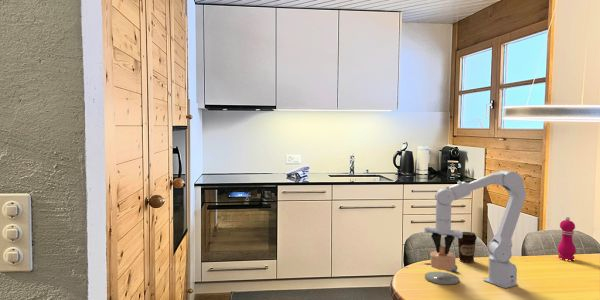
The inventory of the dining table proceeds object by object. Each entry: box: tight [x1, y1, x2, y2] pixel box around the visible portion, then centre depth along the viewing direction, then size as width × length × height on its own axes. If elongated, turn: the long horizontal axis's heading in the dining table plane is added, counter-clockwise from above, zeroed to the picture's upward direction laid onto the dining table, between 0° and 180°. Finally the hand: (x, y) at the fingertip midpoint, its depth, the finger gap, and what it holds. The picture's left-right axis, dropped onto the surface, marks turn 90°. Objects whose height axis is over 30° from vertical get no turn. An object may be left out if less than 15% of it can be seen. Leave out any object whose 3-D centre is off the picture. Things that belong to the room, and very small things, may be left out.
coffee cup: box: [457, 231, 478, 263], centre depth 183 cm, size 9×8×13 cm
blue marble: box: [451, 264, 458, 272], centre depth 169 cm, size 3×3×3 cm
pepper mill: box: [557, 216, 577, 260], centre depth 187 cm, size 7×7×20 cm
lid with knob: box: [429, 244, 457, 271], centre depth 160 cm, size 10×10×8 cm
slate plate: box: [424, 271, 460, 286], centre depth 159 cm, size 13×13×1 cm
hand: (442, 252), depth 160 cm, fingers closed on lid with knob, 3 cm apart
